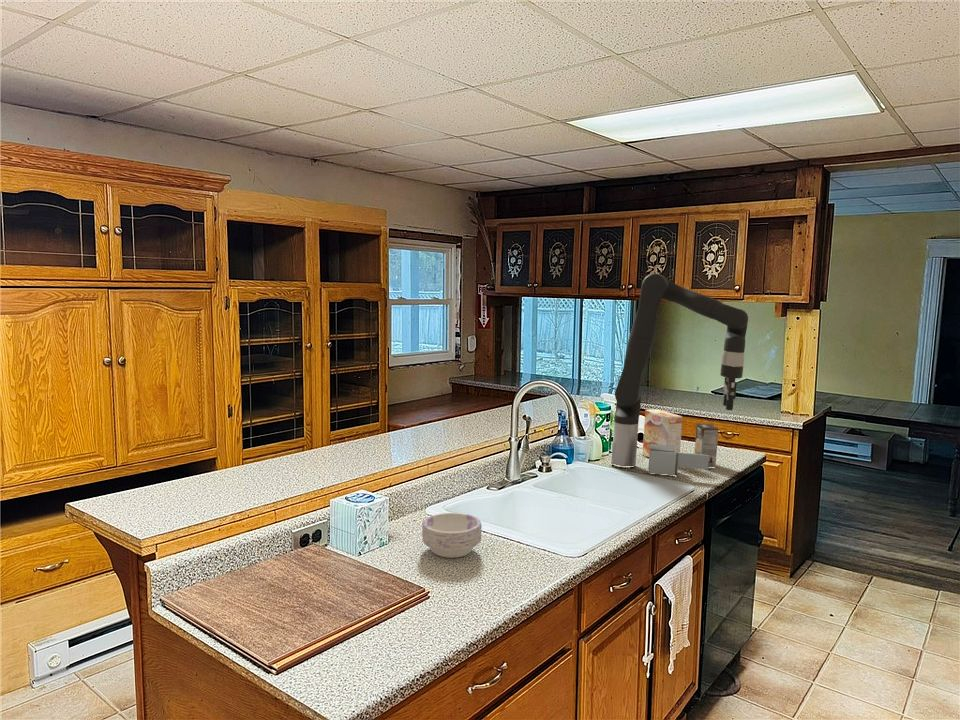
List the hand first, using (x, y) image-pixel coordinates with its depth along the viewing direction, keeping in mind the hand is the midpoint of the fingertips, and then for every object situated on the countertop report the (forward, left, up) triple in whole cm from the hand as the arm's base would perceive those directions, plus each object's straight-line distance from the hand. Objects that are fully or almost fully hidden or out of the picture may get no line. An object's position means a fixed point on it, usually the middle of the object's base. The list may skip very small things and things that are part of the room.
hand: (727, 407), depth 244 cm
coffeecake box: (-22, +20, -27) cm, 40 cm away
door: (-17, -4, -27) cm, 32 cm away
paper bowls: (-75, -97, -27) cm, 126 cm away
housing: (-22, +1, -27) cm, 35 cm away
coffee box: (-5, +18, -27) cm, 33 cm away
